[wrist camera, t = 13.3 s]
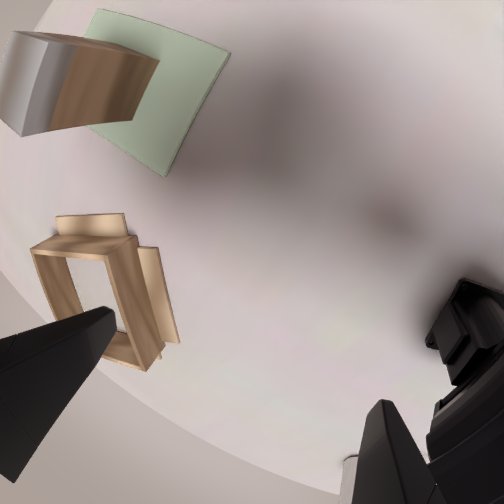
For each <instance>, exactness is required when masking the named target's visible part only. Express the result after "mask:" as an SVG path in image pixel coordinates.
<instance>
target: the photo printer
mask: <svg viewBox="0 0 504 504" xmlns="http://www.w3.org/2000/svg"><path fill="white" fill-rule="evenodd" d="M357 461H358V457H350V458H348V459H346V460H345V461H344V465H343V474H342V482H341V490H340V498H339V504H351V502H352V496H353V490H354V483H355V476H356V468H357Z"/></svg>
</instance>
